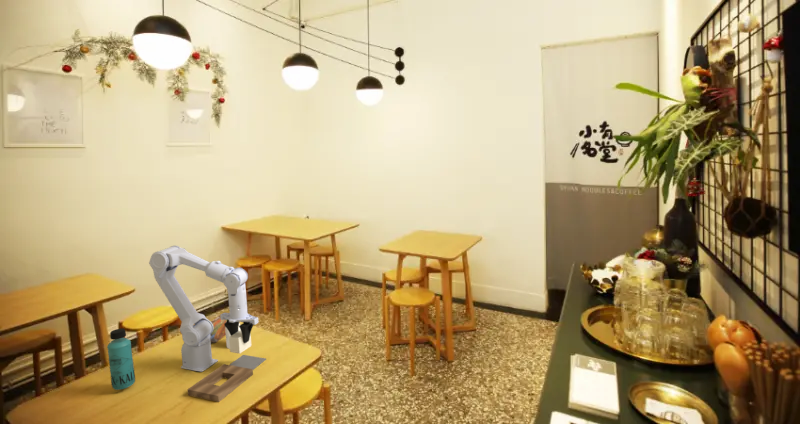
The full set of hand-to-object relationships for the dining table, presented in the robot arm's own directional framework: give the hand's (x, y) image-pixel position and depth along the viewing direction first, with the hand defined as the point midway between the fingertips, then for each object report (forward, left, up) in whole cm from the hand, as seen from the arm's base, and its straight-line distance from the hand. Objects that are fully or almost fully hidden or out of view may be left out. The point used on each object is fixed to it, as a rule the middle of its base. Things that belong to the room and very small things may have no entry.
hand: (241, 340), depth 144 cm
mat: (0, +3, -10) cm, 10 cm away
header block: (+1, -11, -10) cm, 15 cm away
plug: (0, 0, -3) cm, 3 cm away
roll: (-14, +13, -10) cm, 21 cm away
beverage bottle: (-28, -22, -10) cm, 37 cm away
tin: (-25, +17, -10) cm, 32 cm away
